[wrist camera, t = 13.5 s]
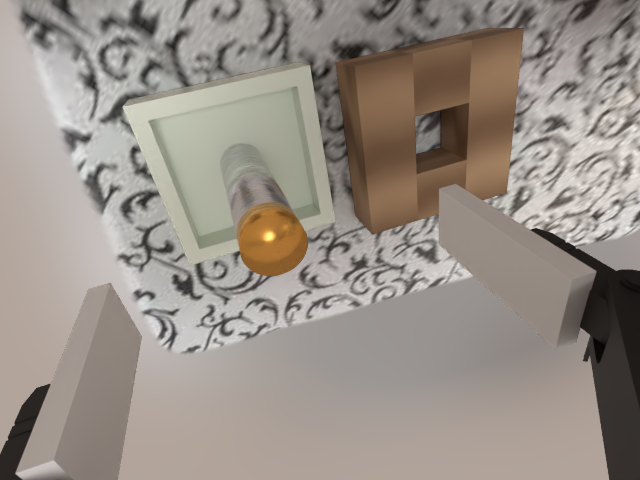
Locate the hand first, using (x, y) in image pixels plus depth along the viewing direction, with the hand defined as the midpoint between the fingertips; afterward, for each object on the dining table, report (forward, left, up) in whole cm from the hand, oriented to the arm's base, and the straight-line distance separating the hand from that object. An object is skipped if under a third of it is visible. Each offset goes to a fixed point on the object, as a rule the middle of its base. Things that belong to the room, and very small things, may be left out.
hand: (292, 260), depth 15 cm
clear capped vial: (0, 0, -14) cm, 14 cm away
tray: (0, 0, -14) cm, 14 cm away
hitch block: (+1, +14, -14) cm, 20 cm away
